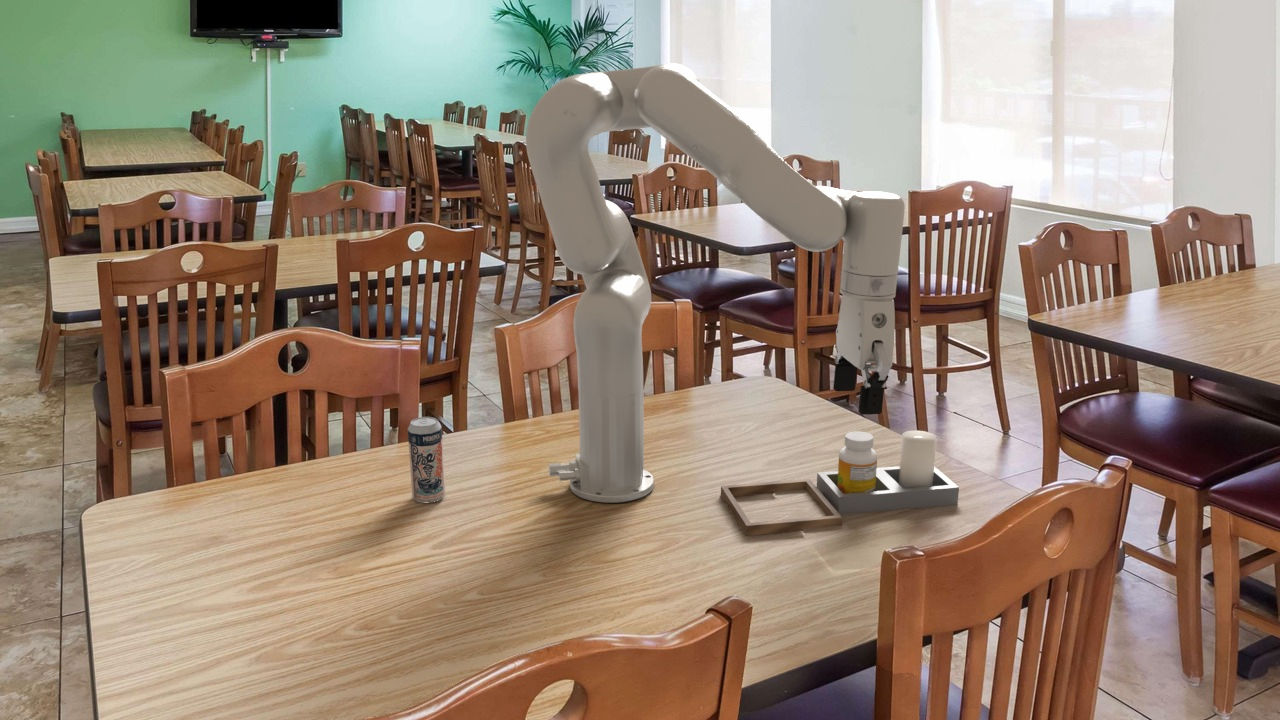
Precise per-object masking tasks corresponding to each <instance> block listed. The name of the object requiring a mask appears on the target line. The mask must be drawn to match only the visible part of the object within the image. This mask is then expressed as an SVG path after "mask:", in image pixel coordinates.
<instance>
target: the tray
mask: <svg viewBox="0 0 1280 720" xmlns="http://www.w3.org/2000/svg"><path fill="white" fill-rule="evenodd" d="M804 489H805V490H806V491H807V492H808V494H810V496H811V497H812V498H813V499H814V500H815V501H816V503H817V504H818V505H819V507H821V509H822V510H823V512H824V513H826V515H825V516H814V517H813V516H812V517H802V518H801V517H800V518H790V519H779V520H778V519H777V520H767V521H755V522H751V521H750V520H749V518H748V516H747V515H746V513H745V512H744V510H743V509H742V507H741V506H740V504H739V503H738V501H737V500H736V498H735V497H744V496H745V497H746V496H759V495H769V494H770V495H771V494H775V492H780V491H781V492H782V491H783V492H784V491H791V490H792V491H793V490H804ZM720 496H721V498H722V500H723V501H724V503H725V504H726V506H727V508H728V509H729V511H730V512H731V514H732V515H733V518H734V519H735V520H736V521H737V523H738V525H739V526H740V528H741V529H742V532H743V533H744V535H745V536H747V537H748V536H749V537H750V536H760V535H761V536H762V535H770V534H771V535H773V534H782V533H783V534H784V533H793V532H803V531H804V530H803V529H812V528H813V529H814V528H824V527H825V528H826V527H834V526H835V527H836V526H837V527H838V526H843V516H842V514H839V513H838V512H837V511H836V509H835V508H834V507H833V506H832V505H831V504H830V502H829V501H828V500H827V499H826V498H825V497H824V495H823V494H822V493H821V492H820V491H819V490H818V488H817V485H815V484H814V483H813V481H812V480H811V479H810V478H806V479H805V478H804V479H793V480H791V479H790V480H781V481H780V480H779V481H769V482H767V481H766V482H756V483H755V482H754V483H753V482H752V483H742V484H731V485H721V486H720Z"/></svg>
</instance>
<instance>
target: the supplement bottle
mask: <svg viewBox="0 0 1280 720" xmlns="http://www.w3.org/2000/svg"><path fill="white" fill-rule="evenodd" d="M873 446H874V435H872V434H871V433H869V432H866V431H859V430H856V431H850V432H847V433H846V434H845V435H844V447H842V448H841V449H840V451H839V453H838V465H837V466H838V467H837V468H838V469H837V471H838V483H837V487H838V488H839V490H840V491H841V492H842V493H843V494H848V493H860V492H872V491H875V484H876V469H877V468H878V467H877V465H878V455H877V454H878V453H877V452H876V450H875V449H874V448H873Z"/></svg>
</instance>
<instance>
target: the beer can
mask: <svg viewBox="0 0 1280 720" xmlns="http://www.w3.org/2000/svg"><path fill="white" fill-rule="evenodd" d="M442 429H443V428H442V425H441V423H440V422H439V419H437V418H436V417H434V416H433V417H431V416H421V417H417V418H414V419H412V420H411V421H410V423H409V426H408V427H407V438H408V451H409V468H410V469H409V470H410V480H411V481H410V483H411V496H412V499H413V500H415V501H416V502H418V501H419V502H418V503H420V502H434V501H437V500H439V501H441V500H442V499H444V498H445V496H446V493H447V492H446V480H445V479H446V477H445V476H446V475H445V461H444V446H443V445H444V444H443V430H442ZM443 497H444V498H443ZM440 499H441V500H440ZM437 502H438V501H437ZM434 503H435V502H434Z"/></svg>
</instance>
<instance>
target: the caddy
mask: <svg viewBox="0 0 1280 720" xmlns="http://www.w3.org/2000/svg"><path fill="white" fill-rule="evenodd" d="M899 472H900V465H899V466H896V465H895V466H884V467H877V469H876V484H875V491H872V492H860V493H848V494H843V493H842V492H841V491H840V490H839V488H838V487H837V483H838V470H836V471H835V470H834V471H832V470H831V471H822V472H817V474H816V475H817V476H816V487H817V488H818V490H819V491H820V492H821V493H822V494H823V495H824V497H825V498H826V499H827V500H828V501H829V502H830V504H831V505H832V506H833V507H834V508H835V509H836V511H837V512H838V513H839V514H840V515H847V514H848V515H849V514H860V513H861V514H862V513H873V512H874V513H875V512H883V511H884V512H885V511H886V512H887V511H894V510H895V511H896V510H907V509H908V510H909V509H918V508H920V509H921V508H930V507H931V508H933V507H941V506H942V507H943V506H954V505H956V506H957V505H959V504H958V502H959V491H960V489H959V488H960V486H958V485H957V484H956V483H955V482H953V481H952V480H951V479H950V478H949V477H948V476H947V475H945V474H944V473H943V472H942V471H941V470H939V468H937V467H936V466H935V465H934V474H933V486H932V487H920V488H908V489H903V488H902V487H901V486H900V485H899Z"/></svg>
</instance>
